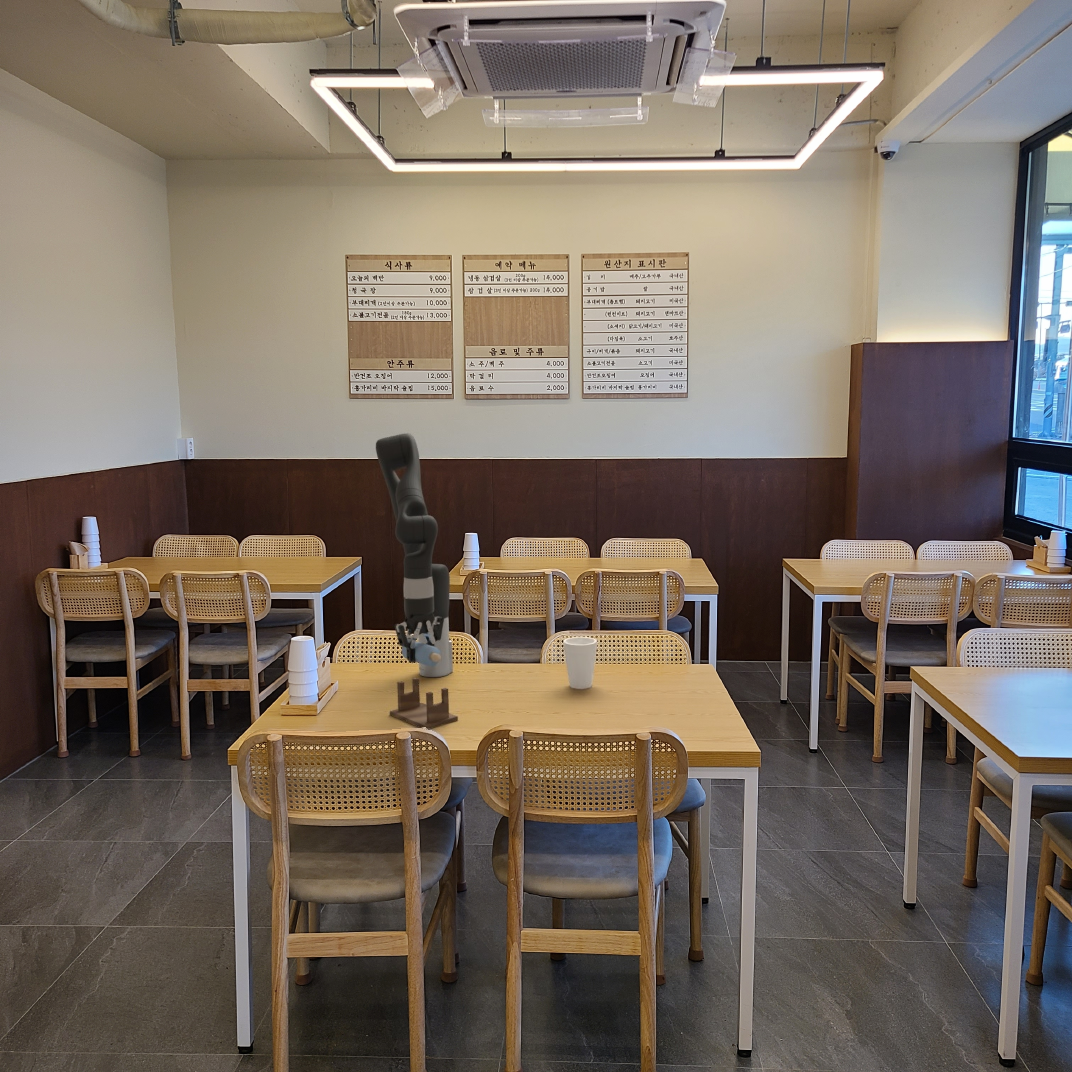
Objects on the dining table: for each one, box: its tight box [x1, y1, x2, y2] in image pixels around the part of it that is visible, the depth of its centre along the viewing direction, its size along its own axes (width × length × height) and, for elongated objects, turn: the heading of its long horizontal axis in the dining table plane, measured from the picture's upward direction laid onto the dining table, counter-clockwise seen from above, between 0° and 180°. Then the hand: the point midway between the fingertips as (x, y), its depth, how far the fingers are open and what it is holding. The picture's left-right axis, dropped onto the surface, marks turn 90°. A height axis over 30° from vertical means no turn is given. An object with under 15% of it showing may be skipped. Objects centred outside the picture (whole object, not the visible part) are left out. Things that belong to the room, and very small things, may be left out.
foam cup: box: [562, 636, 598, 690], centre depth 264 cm, size 10×9×13 cm
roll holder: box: [389, 677, 459, 729], centre depth 239 cm, size 16×10×8 cm, turn 42°
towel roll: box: [401, 640, 441, 666], centre depth 237 cm, size 14×5×5 cm, turn 42°
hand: (420, 659), depth 238 cm, fingers closed on towel roll, 5 cm apart
